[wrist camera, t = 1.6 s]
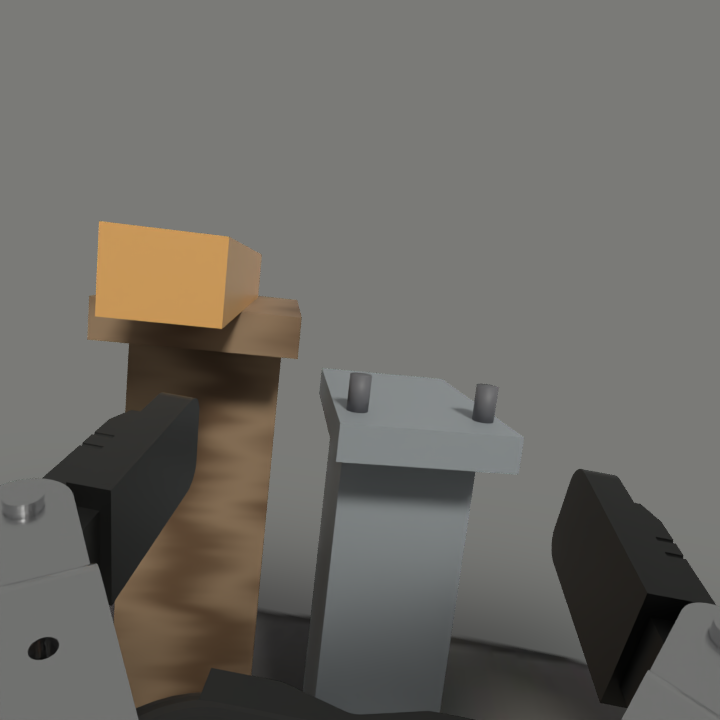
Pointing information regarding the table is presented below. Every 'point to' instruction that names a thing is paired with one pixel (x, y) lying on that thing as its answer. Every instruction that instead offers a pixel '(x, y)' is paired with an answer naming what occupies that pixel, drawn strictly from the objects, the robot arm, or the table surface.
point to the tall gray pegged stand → (395, 534)
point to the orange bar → (173, 276)
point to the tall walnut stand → (204, 495)
